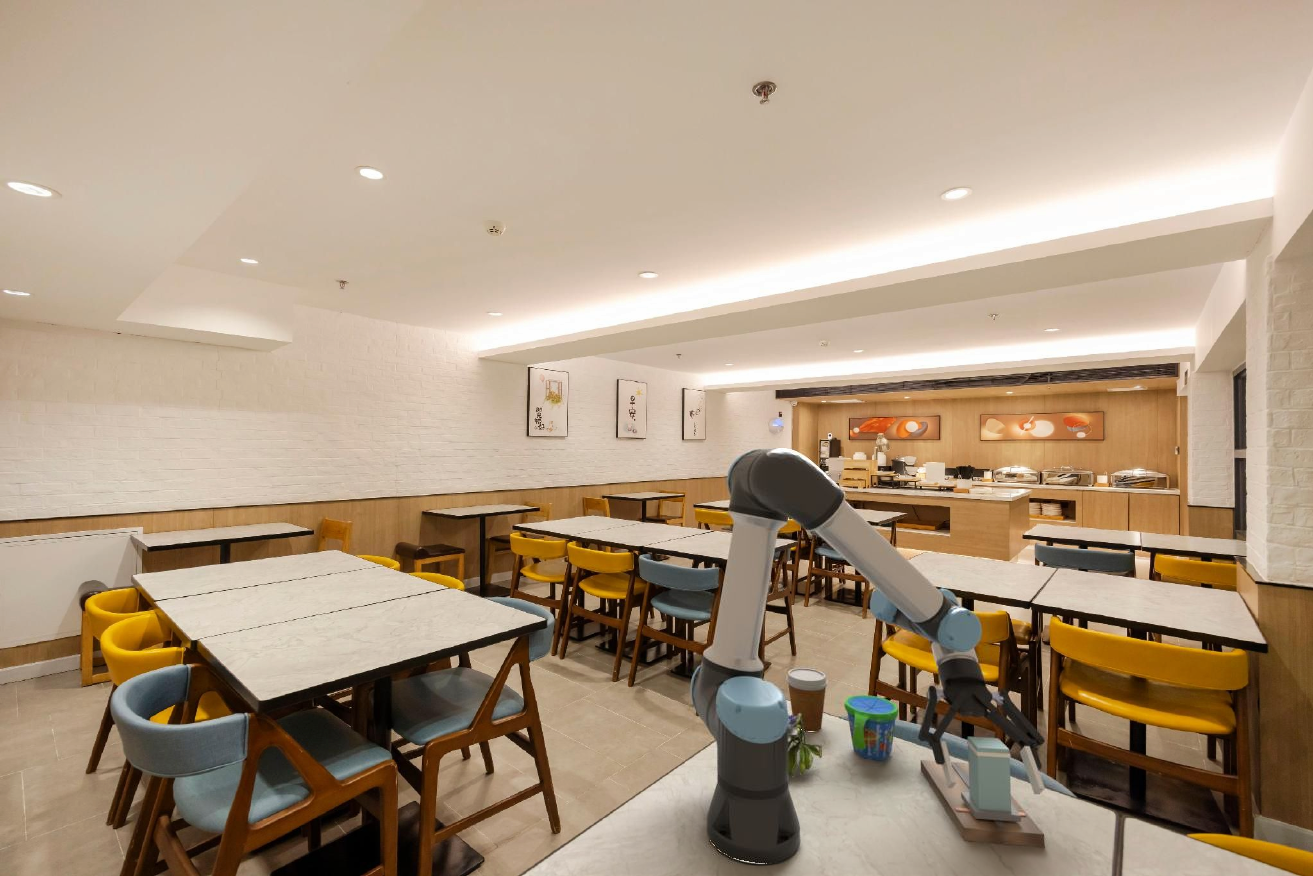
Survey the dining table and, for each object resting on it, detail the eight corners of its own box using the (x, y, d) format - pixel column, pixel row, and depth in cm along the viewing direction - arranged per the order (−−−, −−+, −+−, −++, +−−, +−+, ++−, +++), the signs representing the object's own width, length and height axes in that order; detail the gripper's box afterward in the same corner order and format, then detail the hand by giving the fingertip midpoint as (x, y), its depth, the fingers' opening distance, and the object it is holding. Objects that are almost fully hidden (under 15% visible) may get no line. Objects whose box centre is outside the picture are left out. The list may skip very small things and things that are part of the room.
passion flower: (774, 786, 118) (761, 723, 126) (826, 778, 118) (810, 715, 125) (773, 778, 110) (759, 711, 117) (829, 770, 109) (812, 703, 116)
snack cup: (865, 733, 131) (864, 687, 131) (911, 749, 123) (910, 700, 124) (830, 756, 120) (829, 707, 120) (879, 776, 112) (878, 722, 113)
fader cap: (975, 818, 94) (973, 750, 95) (961, 797, 100) (959, 733, 101) (1021, 822, 94) (1018, 752, 94) (1003, 801, 99) (1001, 736, 100)
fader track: (964, 840, 93) (964, 826, 93) (920, 770, 114) (920, 758, 115) (1044, 847, 91) (1044, 832, 91) (984, 774, 113) (984, 763, 113)
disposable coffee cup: (830, 737, 128) (829, 683, 129) (787, 733, 130) (786, 679, 131) (826, 719, 138) (825, 668, 138) (786, 716, 140) (785, 666, 140)
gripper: (1020, 677, 111) (1068, 801, 96) (887, 671, 115) (911, 790, 99) (1033, 659, 106) (1086, 786, 91) (893, 653, 110) (921, 774, 94)
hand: (995, 788), depth 95 cm, fingers open, 13 cm apart
